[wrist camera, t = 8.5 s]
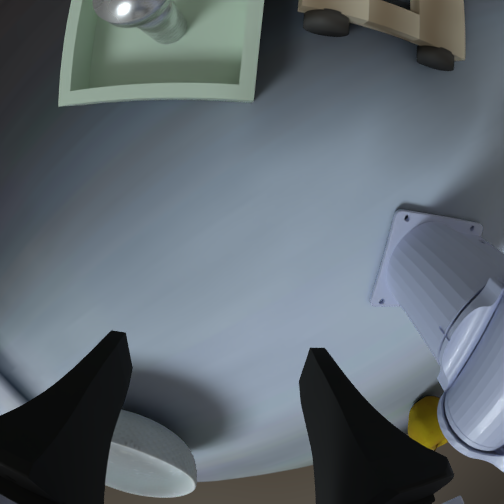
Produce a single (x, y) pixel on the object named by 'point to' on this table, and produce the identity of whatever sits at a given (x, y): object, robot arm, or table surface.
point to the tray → (163, 56)
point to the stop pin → (145, 17)
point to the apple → (426, 423)
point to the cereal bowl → (149, 459)
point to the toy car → (396, 24)
